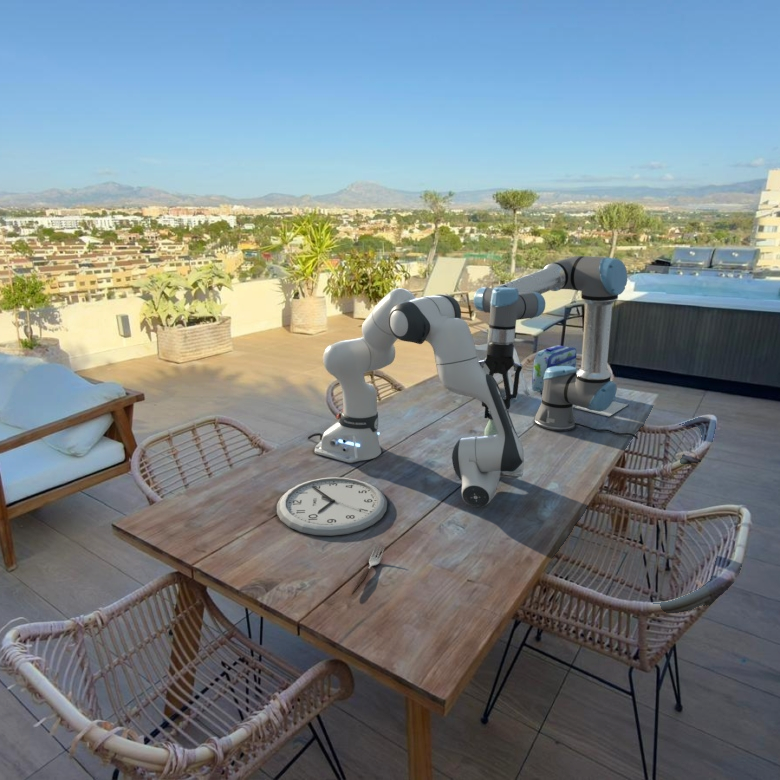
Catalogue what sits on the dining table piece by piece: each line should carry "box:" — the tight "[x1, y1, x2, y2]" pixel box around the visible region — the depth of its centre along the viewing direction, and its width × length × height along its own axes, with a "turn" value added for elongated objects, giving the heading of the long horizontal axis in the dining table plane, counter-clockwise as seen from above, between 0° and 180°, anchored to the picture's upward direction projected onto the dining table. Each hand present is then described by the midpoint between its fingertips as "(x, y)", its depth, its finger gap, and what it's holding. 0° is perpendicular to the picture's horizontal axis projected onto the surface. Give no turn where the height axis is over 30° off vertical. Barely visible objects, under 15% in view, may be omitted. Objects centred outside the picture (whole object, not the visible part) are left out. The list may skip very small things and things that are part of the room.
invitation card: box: [573, 400, 629, 418], centre depth 226 cm, size 21×1×15 cm
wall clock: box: [276, 476, 388, 537], centre depth 142 cm, size 30×2×30 cm
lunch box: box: [531, 345, 577, 393], centre depth 245 cm, size 26×11×21 cm, turn 134°
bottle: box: [483, 418, 498, 436], centre depth 161 cm, size 6×6×19 cm
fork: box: [351, 545, 385, 596], centre depth 114 cm, size 3×16×2 cm, turn 160°
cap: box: [487, 410, 493, 420], centre depth 158 cm, size 5×5×2 cm
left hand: (492, 453), depth 162 cm, fingers closed on bottle, 5 cm apart
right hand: (494, 417), depth 158 cm, fingers closed on cap, 4 cm apart
